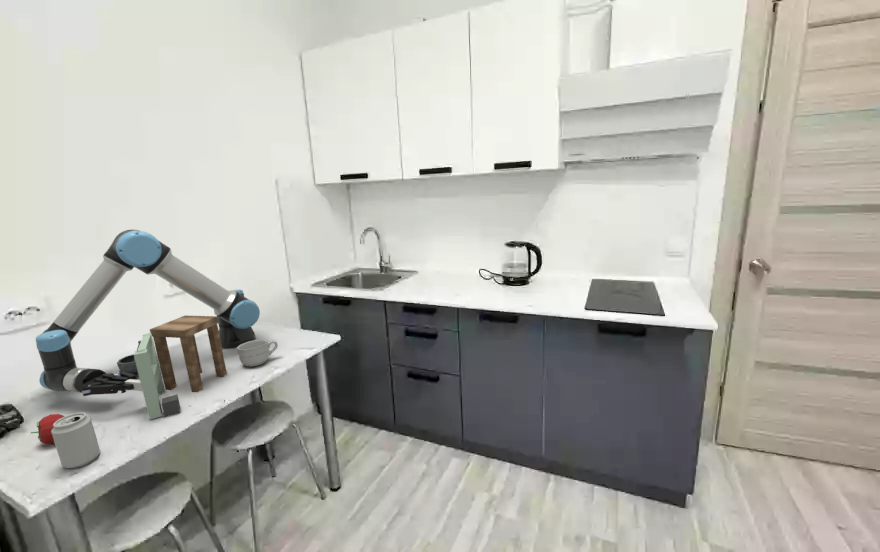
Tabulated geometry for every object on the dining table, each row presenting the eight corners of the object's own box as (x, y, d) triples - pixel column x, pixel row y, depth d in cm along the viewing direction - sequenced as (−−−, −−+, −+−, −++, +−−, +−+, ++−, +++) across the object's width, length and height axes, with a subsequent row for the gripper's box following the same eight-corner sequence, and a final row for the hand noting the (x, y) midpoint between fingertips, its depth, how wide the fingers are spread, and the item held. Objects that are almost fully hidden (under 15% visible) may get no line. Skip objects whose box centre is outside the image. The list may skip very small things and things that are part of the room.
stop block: (165, 411, 126) (162, 398, 125) (180, 407, 128) (177, 394, 127) (164, 417, 122) (161, 403, 121) (180, 412, 124) (177, 399, 123)
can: (103, 458, 105) (91, 416, 102) (64, 475, 99) (51, 431, 97) (97, 447, 110) (86, 407, 107) (60, 462, 104) (47, 420, 102)
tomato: (68, 405, 116) (30, 413, 110) (72, 429, 112) (33, 438, 106) (65, 420, 119) (28, 429, 113) (69, 444, 116) (31, 454, 110)
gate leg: (155, 392, 138) (141, 334, 133) (166, 389, 139) (153, 332, 135) (149, 419, 121) (133, 354, 116) (161, 416, 122) (146, 352, 118)
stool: (196, 371, 153) (184, 315, 148) (228, 373, 149) (217, 316, 144) (163, 390, 140) (149, 329, 135) (197, 393, 136) (184, 330, 131)
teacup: (237, 371, 151) (234, 351, 149) (243, 360, 161) (239, 340, 159) (278, 365, 154) (274, 345, 152) (280, 354, 164) (277, 335, 162)
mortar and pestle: (136, 381, 147) (128, 350, 145) (115, 381, 149) (106, 350, 146) (162, 367, 158) (155, 338, 155) (141, 367, 160) (134, 338, 157)
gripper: (109, 381, 137) (166, 386, 131) (66, 402, 125) (126, 408, 119) (104, 360, 135) (161, 364, 129) (60, 379, 123) (120, 385, 117)
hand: (144, 385), depth 124 cm, fingers closed
